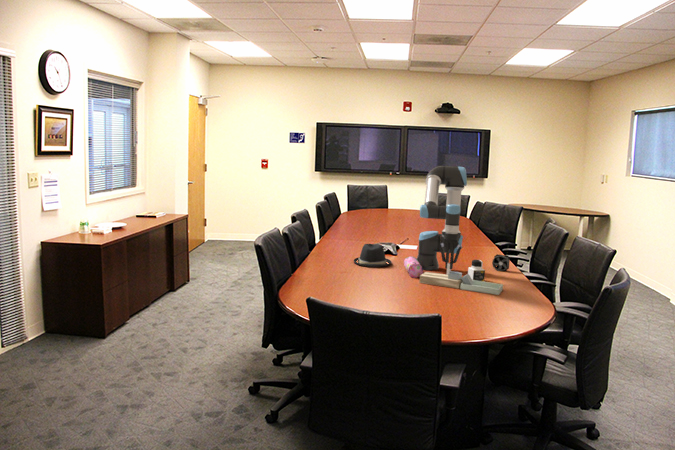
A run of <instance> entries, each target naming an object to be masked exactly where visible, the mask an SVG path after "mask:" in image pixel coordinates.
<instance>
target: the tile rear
mask: <svg viewBox="0 0 675 450" xmlns="http://www.w3.org/2000/svg"><path fill="white" fill-rule="evenodd" d="M462 277H463V272H459V271H452V270H451V272H450V273H449V274H448V279H454V280H460V279H461V278H462Z"/></svg>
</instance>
